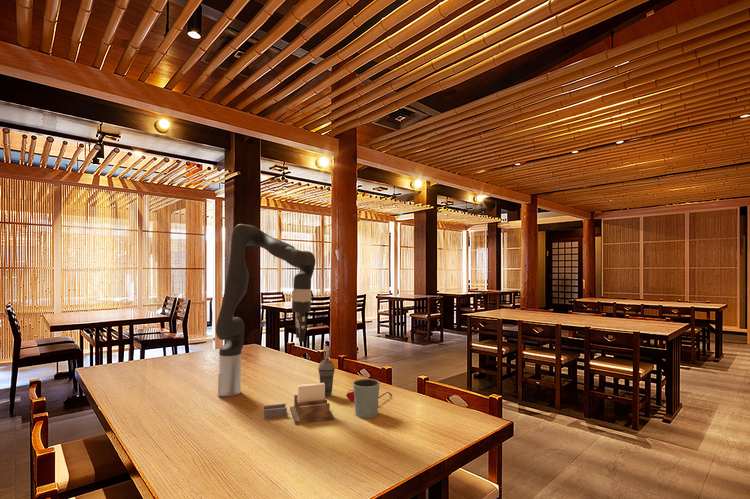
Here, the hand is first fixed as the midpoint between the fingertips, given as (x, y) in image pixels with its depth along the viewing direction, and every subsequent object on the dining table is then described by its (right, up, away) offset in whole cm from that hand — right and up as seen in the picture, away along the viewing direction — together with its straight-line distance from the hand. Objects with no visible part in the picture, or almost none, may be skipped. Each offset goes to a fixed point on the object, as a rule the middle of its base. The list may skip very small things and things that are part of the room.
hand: (300, 339), depth 158 cm
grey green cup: (+27, -26, -10) cm, 39 cm away
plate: (+6, -25, -10) cm, 28 cm away
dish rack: (+6, -26, -10) cm, 29 cm away
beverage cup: (+9, -27, +12) cm, 31 cm away
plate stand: (-7, -26, -11) cm, 29 cm away
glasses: (+28, -28, +9) cm, 40 cm away
